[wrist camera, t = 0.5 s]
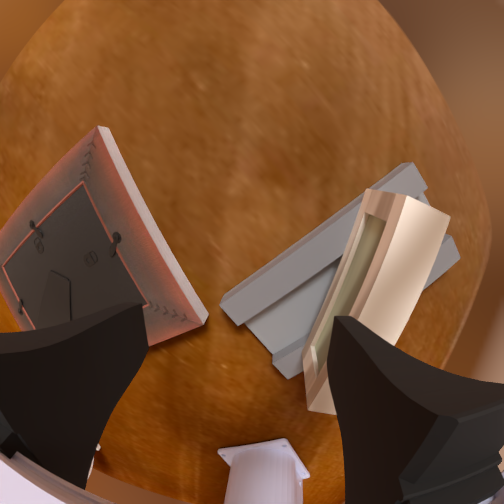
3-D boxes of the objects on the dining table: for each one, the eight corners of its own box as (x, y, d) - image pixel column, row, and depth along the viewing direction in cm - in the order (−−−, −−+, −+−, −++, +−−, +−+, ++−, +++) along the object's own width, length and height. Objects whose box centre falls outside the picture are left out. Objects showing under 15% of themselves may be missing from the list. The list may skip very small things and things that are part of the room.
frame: (400, 202, 16) (450, 216, 11) (333, 359, 20) (348, 416, 14) (366, 188, 16) (406, 195, 11) (301, 351, 20) (307, 410, 14)
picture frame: (64, 369, 26) (210, 311, 22) (53, 380, 24) (203, 326, 20) (-3, 249, 23) (112, 128, 19) (-17, 254, 21) (95, 125, 17)
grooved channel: (448, 251, 18) (460, 258, 17) (287, 365, 22) (287, 379, 20) (402, 163, 17) (413, 162, 16) (223, 294, 21) (219, 305, 19)
